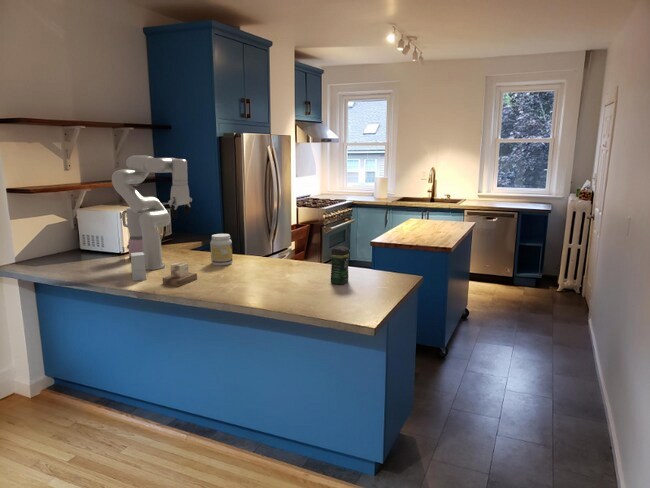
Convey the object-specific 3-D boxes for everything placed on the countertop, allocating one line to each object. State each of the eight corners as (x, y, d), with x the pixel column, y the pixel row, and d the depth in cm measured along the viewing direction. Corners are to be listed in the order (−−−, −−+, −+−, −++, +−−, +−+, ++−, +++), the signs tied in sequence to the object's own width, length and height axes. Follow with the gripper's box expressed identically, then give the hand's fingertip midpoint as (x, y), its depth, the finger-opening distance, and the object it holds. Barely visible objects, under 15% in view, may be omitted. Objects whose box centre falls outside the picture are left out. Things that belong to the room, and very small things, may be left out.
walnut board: (162, 284, 236) (162, 278, 236) (181, 277, 249) (180, 271, 248) (179, 286, 233) (179, 280, 232) (197, 279, 245) (196, 273, 245)
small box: (146, 279, 244) (144, 254, 241) (133, 281, 241) (131, 256, 238) (144, 275, 251) (143, 251, 248) (132, 277, 248) (130, 252, 245)
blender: (154, 256, 296) (151, 204, 289) (144, 260, 284) (140, 207, 277) (130, 255, 298) (127, 204, 291) (120, 259, 286) (115, 206, 280)
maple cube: (171, 276, 239) (170, 264, 237) (178, 273, 244) (178, 262, 243) (181, 277, 236) (180, 266, 235) (188, 274, 242) (188, 263, 241)
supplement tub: (236, 264, 277) (235, 235, 274) (216, 267, 270) (214, 237, 267) (227, 260, 287) (226, 232, 283) (208, 262, 280) (206, 234, 277)
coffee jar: (342, 286, 235) (343, 249, 231) (328, 283, 239) (328, 247, 235) (350, 281, 243) (351, 245, 240) (337, 279, 247) (337, 244, 243)
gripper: (185, 181, 256) (186, 213, 260) (162, 183, 241) (163, 217, 244) (196, 182, 253) (197, 214, 257) (174, 184, 238) (175, 218, 242)
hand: (181, 215), depth 251 cm, fingers open, 9 cm apart
